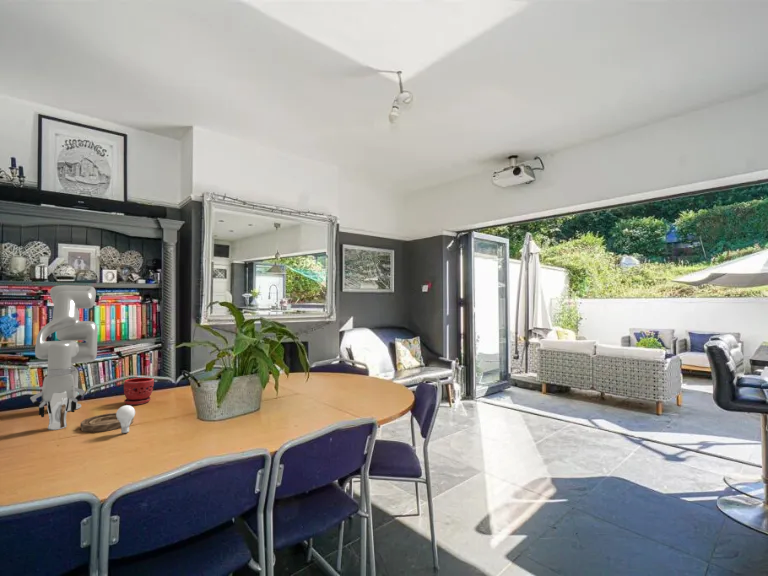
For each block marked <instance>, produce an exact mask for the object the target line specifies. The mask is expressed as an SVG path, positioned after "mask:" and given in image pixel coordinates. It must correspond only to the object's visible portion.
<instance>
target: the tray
mask: <svg viewBox="0 0 768 576" xmlns="http://www.w3.org/2000/svg"><path fill="white" fill-rule="evenodd" d="M116 413H117V412H112V413H110V412H109V413H105V414H104V413H103V414H98V415H94V416H91V417H88V418H85V419H84V420H82V421H81V422H80V431H82V432H85V433H102V432H109V431H115V430H119V429H121V425H120V422H119V420H118V419H117V417H116ZM134 419H135V416H134V417H133V419H132V420H131V423H130V425H132V424H133V423H134Z"/></svg>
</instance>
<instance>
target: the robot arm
mask: <svg viewBox="0 0 768 576" xmlns="http://www.w3.org/2000/svg"><path fill="white" fill-rule="evenodd" d="M49 295H50V298H51V302H52V304H53V310H52V311H53V313H52V320H51V321H49V322H48V323H47V324H45V325H44V326H43V327H42V328H41V329H40V330H39V332H38V334H37V336H36V341H35V348H34V355H35V357H36V358H37V359H39V360H47V376H44V378H43V382H42V390H41V391H40V392H38V393H36V394H34V395H31V396H30V398H29V399H30V401H31V402H32V403H33V405H35V406H37V407H38V416H40V417H41V418H44V417H45V405H47V402H50V401H51V399H52V396H53V393H61V392H66V393H67V397H68V399H69V406H68V410H67V412H72V413H75V410H78V409H81V408H82V404H81V403H78V401H79V400H80V399H81V398H82V397H83V395H84V394H85V390H84V389H82V388H79V371H78V369H77V368H76V366H74V365H73V364H76V363H90V362H94V361H95V360H96V359H97V356H98V325H97V324H96V322H94V321H92V320H87V321H84V320H82V321H81V320H80V310H79V309H92V308H93V307H94V305H95V302H96V295H97V290H96V288H95V287H94V286H91V285H68V284H66V285H64V284H63V285H56V286H55V285H54V286H53V287H51V289H50V292H49ZM55 332H56V333H55ZM53 333H55V334H56V339H58V340H51V341H50V340H47V338H48V337H49V336H50V335H52V334H53ZM46 340H47V341H46ZM77 341H85V342H77ZM40 397H41V401H40V402H39V401H38V400H37V399H38V398H40ZM46 410H47V412H48V408H47V409H46Z"/></svg>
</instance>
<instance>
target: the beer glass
mask: <svg viewBox="0 0 768 576" xmlns="http://www.w3.org/2000/svg"><path fill="white" fill-rule="evenodd" d="M68 406H69V399H68V397H67V393H66V392H61V393H53V396H52V399H51V401H50V402H47V403H46V407H47V409H48V417H49V419H48V425H47V430H48V431H57V430H63V429H64V428H65V429H66V427H68V424H67V414H68V411H67V410H68Z"/></svg>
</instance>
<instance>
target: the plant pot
mask: <svg viewBox="0 0 768 576" xmlns="http://www.w3.org/2000/svg"><path fill="white" fill-rule="evenodd" d="M154 385H155V379H154V378H151V377H138V378H137V377H136V378H129V379H125V380H124V381H123V394H124V397H125V398H126V399H124V400H123V401H124V403H125V404H126V405H130V406H132V405H133V406H136V405H143V404H146V403H149V401H151V399H152V398H151V397H150V396H151V395H152V393H153V390H154Z"/></svg>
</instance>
